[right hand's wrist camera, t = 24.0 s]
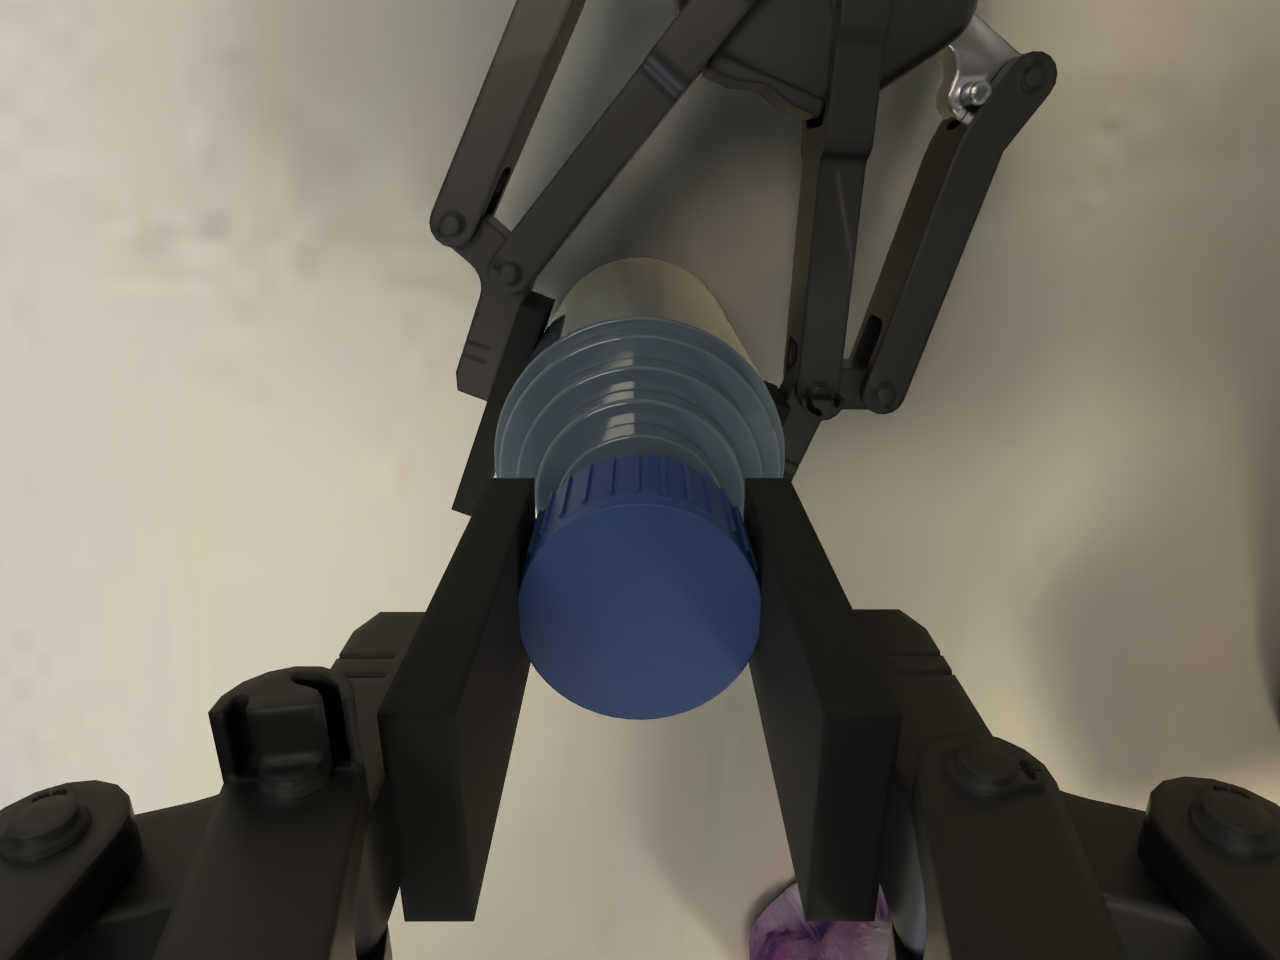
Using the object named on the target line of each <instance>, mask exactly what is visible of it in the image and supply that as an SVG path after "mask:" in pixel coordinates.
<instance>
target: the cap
mask: <svg viewBox="0 0 1280 960" xmlns="http://www.w3.org/2000/svg"><path fill="white" fill-rule="evenodd" d="M526 556H527V558H526V561H525V564H524V568H523V571H522V579H521V583H520V586H519V590H518V601H519V619H520V635H521V642H522V645H523V648H524V650H525V652H526V654H527V656H528V658H529V660H530V661H531V663H532V664H533V666H534V667H535V669H536V670H537V672H538V673H539V674H540V675H541V677H542V678H543V679H544V680H545V681H546V682H547V683H548V684H549V685H550V686H551V687H552V688H553V689H555V690H556V691H557V692H558V693H559V694H561V695H562V696H564V697H565V698H567V699H568V700H570V701H571V702H573V703H575V704H577V705H579V706H581V707H583V708H585V709H588V710H591V711H593V712H596V713H599V714H603V715H607V716H611V717H616V718H623V719H639V720H644V719H657V718H663V717H668V716H673V715H677V714H680V713H683V712H686V711H689V710H691V709H693V708H696V707H698V706H700V705H702V704H704V703H706V702H707V701H709V700H711V699H713V698H714V697H715V696H717V695H718V694H719V693H721V692H722V691H723V690H725V689H726V688H727V687H728V686H729V685H730V684H731V683H732V682H733V681H734V680H735V679H736V678H737V677H738V676H739V674H740V673H741V672H742V670H743V669H744V668H745V666H746V665H747V663H748V661H749V660H750V658H751V656H752V655H753V652H754V650H755V647H756V645H757V643H758V639H759V625H760V608H761V590H760V585H759V582H758V578H757V575H756V574H758V568H757V564H756V561H755V557H754V554H753V551H752V547H751V544H750V540H749V537H748V534H747V530H746V527H745V526H744V524H743V521H742V517H741V514H740V510H739V508H738V506H735V507H734V506H733V504H732V503H731V501H730V500H729V498H728V495H727V492H726V490H725V489H724V487H723V488H722V489H720V488H719V487H718V486H717V485H716V484H715V483H714V482H713V481H712V480H710V478H709V474H707V473H706V472H705V473H704V474H702V473H701V472H699V471H697V470H696V469H694V468H692V467H690V466H688V462H685V461H683V463H681V462H678V461H675V460H671V459H668V458H665V457H664V455H661V454H660V455H659V457H658V456H651V455H640V453H635V455H630V456H621V457H616V458H615V455H613V456H610V459H607V460H604V461H601V462H598V463H596V464H593V465H592V463H589V464H587V467H586V468H585V469H583V470H581V471H580V472H578V473H577V474H576V475H574V476H573V477H572V476H571V475H569V476H568V477H567V478H566V482H565V483H564V484H563V485H562V486H561V487H560V488H559V489H558V490H557V491H556V492H554V491H552V492H551V493H550V496H549V500H548V503H547V505H546V506H545V508H544V510H543V511H542V510H539V512H538V515H537V518H536V522H535V525H534V528H533V532H532V535H531V538H530V542H529V545H528V549H527V552H526Z"/></svg>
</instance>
